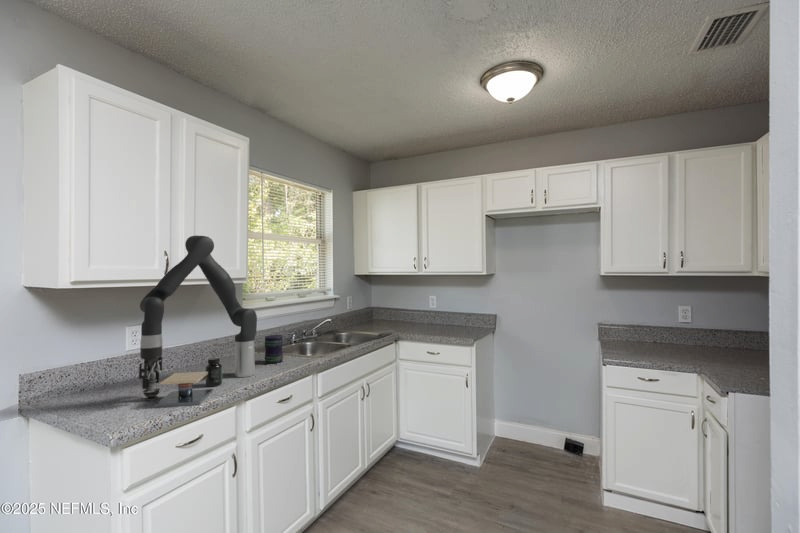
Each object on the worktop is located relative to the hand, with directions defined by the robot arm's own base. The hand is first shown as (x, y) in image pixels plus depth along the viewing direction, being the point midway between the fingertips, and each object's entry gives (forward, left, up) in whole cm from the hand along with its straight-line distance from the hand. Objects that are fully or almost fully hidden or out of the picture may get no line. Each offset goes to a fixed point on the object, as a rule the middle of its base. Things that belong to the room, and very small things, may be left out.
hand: (151, 385), depth 155 cm
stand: (+3, +14, -6) cm, 15 cm away
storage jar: (-55, +39, -6) cm, 68 cm away
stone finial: (0, 0, -6) cm, 6 cm away
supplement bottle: (-16, +19, -6) cm, 26 cm away
